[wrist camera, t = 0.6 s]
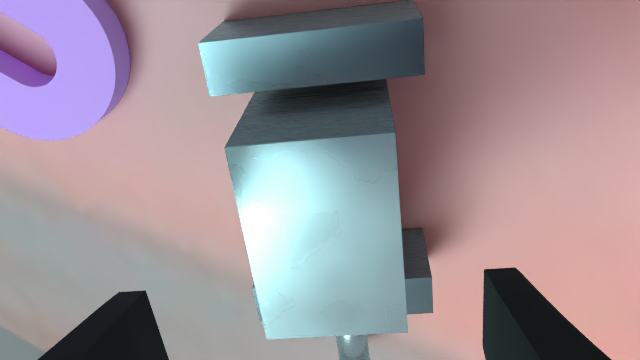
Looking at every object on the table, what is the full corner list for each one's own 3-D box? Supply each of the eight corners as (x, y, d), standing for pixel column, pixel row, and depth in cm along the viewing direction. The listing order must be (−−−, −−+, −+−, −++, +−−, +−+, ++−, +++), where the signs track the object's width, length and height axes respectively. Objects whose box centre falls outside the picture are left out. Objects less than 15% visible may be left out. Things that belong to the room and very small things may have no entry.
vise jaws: (412, -1, 16) (422, 18, 14) (426, 337, 23) (435, 395, 20) (222, 21, 17) (197, 43, 14) (286, 344, 23) (277, 401, 21)
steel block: (383, 63, 17) (395, 132, 12) (394, 219, 20) (407, 332, 15) (263, 75, 18) (224, 147, 13) (290, 227, 21) (266, 339, 15)
